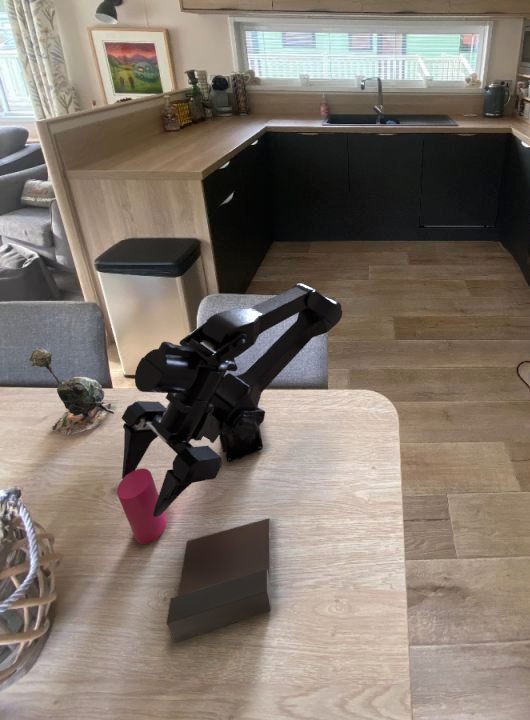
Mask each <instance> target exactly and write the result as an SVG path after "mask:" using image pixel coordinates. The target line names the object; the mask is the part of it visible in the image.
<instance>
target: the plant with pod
mask: <svg viewBox="0 0 530 720" xmlns="http://www.w3.org/2000/svg"><path fill="white" fill-rule="evenodd" d="M52 357H53V354H52V352H50V351H48V350H47V349H45V348H43V347H35V348H34V350H33V351H32V353H31V356H30V357H29V359H28V360H29V362H32V364H31V367H35V366H36V367H40V368H45V369H46V370H48V372H49V373H50V374H51V375H52V377H54V379H55V380H56V382H57V384H58V385H57V388H56V393H57V394H58V397H59V399H60V401H61V402H62V403H63V405H64V408H65V412H64V413H63V415H62V416H61V417H59V419H58V420H57V421H56V423H54V425H52V427H51V429H52V431H55V432H58V433H62V434H64V435H68V436H72V435H75V434H77V433H80V432H86V431H87V430H90V429H95V428H97V427H98V426H100V424H101V423H102V422H103V421H104V420H105V418H107V415H108V414H112V415H114V414H115V413H116V412H115V411H114V409H112V404H111V403H109V402H104V401H103V400H104V398H105V390H104V389H103V387H102V384H100V383H99V382H98V381H97V380H96V379H95V378H90V377H87V376H74V377H70V378H68V379H66V380H64V381H63V382H61V381H60V379H59V377H58V376H57V375H56V374H55V372H53V370H52V366H51V364H52Z"/></svg>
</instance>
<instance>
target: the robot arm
mask: <svg viewBox="0 0 530 720" xmlns="http://www.w3.org/2000/svg"><path fill="white" fill-rule="evenodd" d="M296 315H297V318H296V320H295V321H294V322H293V324H291V325H290V327H288V328H287V330H286V331H284V332H283V334H281V335H280V336H279V337H278V338H277V339H276V340H275V342H273V343H272V344H271V345H270V346H269V347H268V349H266V351H265V352H263V353H262V354H261V355H260V356H259V357H258V358H257V359H256V360H255V361H254V362H253V363H252V364H251V365H250V366H249V367H248V368H247V370H245V371H244V372H243V373H239V374H237V375H234V373H232V372H236V371H238V365H237V363H236V361H235V360H236V359H235V358H238V357H239V356H241V355H242V354H244V352H246V351H247V350H249V349H250V348H252V347H253V346H254V345H255V344H256V342H257V340H258V338H259V336H260V335H261V334H263V333H264V332H266V331H267V330H270V329H272V328H273V327H275V326H277V325H278V324H280V323H282V322H284V321H286V320H288V319H290V318H291V317H293V316H296ZM342 317H343V310H342V304H341V303H340V302H339V301H337V300H335V299H332V298H330V297H327V296H326V295H323V294H322V293H320V292H319V291H317V289H316V288H313V287H311V286H309V285H307V284H305V283H296V284H295V285H293V287H292V288H290V289H288V290H286V291H283V292H281V293H279V294H277V295H275V296H273V297H271V298H268V299H266V300H264V301H262V302H260V303H258V304H256V305H254V306H251V307H248V308H242V309H241V308H233V309H228V310H224V311H220V312H218V313H214V314H213V315H211V316H210V317H209V318H208V319H206V321H205V322H203V323H202V324H201V325H200V326H198V327H197V328H196V329H194V330H193V331H192V332H190V333H188V335H186V336H185V337H184V338H182V339H181V340H179V342H178V344H174V343H173V342H170V341H164V340H163V341H162V342H161V343H160V345H159V347H158V348H154V349H152V350H150V351H149V352H147V353H146V354H145V355H144V356H143V357H141V359H139V362H138V364H137V366H136V369H135V372H134V384H135V387H136V389H137V390H138V391H139V392H142V393H158V394H166V396H165V399H166V400H167V401H168V404H167V406H165V405H164V404H162V403H161V402H160V401H150V400H149V401H146V400H145V401H143V400H135V401H134V402H133V403H131V404H129V405H128V406H127V407H126V409H125V411H124V413H122V416H121V420H122V421H123V422H124V424H123V425H122V429H123V430H124V434H123V435H124V437H123V438H124V439H123V440H124V441H123V445H124V446H123V459H122V473H121V480H123V478H124V477H125V476H127V475H128V474H129V473H131V472H133V471H135V470H137V469H138V466H139V465H140V463H141V461H142V459H143V458H144V456H145V454H146V452H147V451H148V449H149V448H150V446H151V444H152V442H153V441H155V440H156V439H157V438H158V437H159V439H161V440H162V442H164V443H165V444H166V445H167V446H168V447H169V448H170V449H171V450H173V452H174V453H175V454H176V455H175V457H174V459H173V461H172V468H171V469H167V470H166V473H165V476H164V479H163V482H162V485H161V487H160V489H159V490H160V491H159V492H158V494H159V496H158V499H157V502H156V505H155V509H154V513H153V516H154V517H157V516H160V515H161V514H162V513H163V512H165V511H166V510H167V509H168V508H169V507H170V506H171V505H172V504H173V503H174V502H175V500H176V499H177V498H178V497H179V496H180V495H181V494H182V493H183V492H184V491H185V490H186V489H187V488H188V487H190V486H191V485H192V484H193V483H200V482H204V481H209V480H215V479H217V476H218V474H219V472H220V470H221V468H222V466H223V461H222V457H221V456H220V455H219V454H218V453H217V452H216V451H214V450H213V449H212V448H211V447H210V446H209V445H200V446H193V445H192V443H190V442H191V440H194V441H197V442H198V441H202V439H203V437H204V438H205V439H206V440H207V439H208V440H209V443H212V444H214V443H215V442H216V441H217V439H218V437H219V441H220V448H221V451H222V453H223V454H224V453H225V459H226V462H227V463H231V462H234V461H237V460H239V459H242V458H244V457H246V456H249V455H251V454H254V453H257V452H260V451H262V450H263V449H264V444H263V440H262V439H263V438H262V434H261V429H260V425H261V424H262V423H264V421H265V416H266V411H265V410H264V409H263V408H261V407H260V406H259V403H260V400H261V396H262V394H263V392H264V391H265V389H266V388H268V386H269V385H270V384H271V383H273V381H274V380H275V379H276V378H277V377H278V376H279V375H280V373H281V372H282V371H283V370H284V369H285V368H286V367H288V365H289V364H290V363H291V362H292V360H293V359H294V358H296V356H297V355H298V354H299V353H300V352H301V351H302V350H303V348H305V347H306V345H307V344H308V343H309V342H310V341H312V339H313V338H315V337H318V336H321V335H324V334H327V333H328V332H329V331H331V330H332V329H333V328H334V327H335V326H336V325H337V324H338V323H340V322H341V320H342ZM202 343H203V344H202ZM212 350H213V351H212ZM227 371H229V372H228V373H227Z"/></svg>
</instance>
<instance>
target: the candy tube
mask: <svg viewBox="0 0 530 720" xmlns="http://www.w3.org/2000/svg"><path fill="white" fill-rule="evenodd" d="M116 495H117V498H118V500H119V502H120V505H121V508H122V509H123V512H124V514H125V517H126V519H127V521H128V524H129V527H130V529H131V531H132V534H133V536H134V538H135V541H136V542H137V543H138V544H140V545H148V544H151V543H152V542H154V541H156V539H158V538H159V537H160V536H161V535H162V534H163V532H164V531H165V529H166V526H167V524H168V517H167V515H166V512H165V511H164V512H163V513H162V514H161V515H160V516H157V517H154V516H153V513H154V509H155V505H156V502H157V499H158V496H159V491H158V489H157V486H156V483H155V480H154V478H153V474H152V472H151V471H150V470H149V469H147V468H136V470H135V471H133V472H131V473H129V474H128V475H127V476H125V477H124V478H123V479H121V481H120V482H119V483H118V485H117V489H116Z"/></svg>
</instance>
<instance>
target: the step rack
mask: <svg viewBox="0 0 530 720" xmlns="http://www.w3.org/2000/svg"><path fill="white" fill-rule="evenodd" d="M271 611H272V524H271V519H270V517H268V518H265V519H260V520H257V521H254V522H250V523H246V524H243V525H239V526H235V527H232V528H227V529H225V530H222V531H218V532H214V533H211V534H207V535H203V536H200V537H195V538H193V539H189V540H187V541H186V544H185V551H184V557H183V562H182V569H181V575H180V581H179V587H178V593H177V595H176V596H173V597H170V602H169V606H168V612H167V617H166V623H165V624H166V626H167V628H168V631H169V633H170V636H171V638H172V641H173V643H179V642H181V641H184V640H187V639H190V638H192V637H196V636H199V635H201V634H205V633H207V632H211V631H214V630H217V629H219V628H223V627H226V626H228V625H233V624H235V623H238V622H241V621H244V620H247V619H250V618H253V617H256V616H259V615H262V614H265V613H267V612H271Z"/></svg>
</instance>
